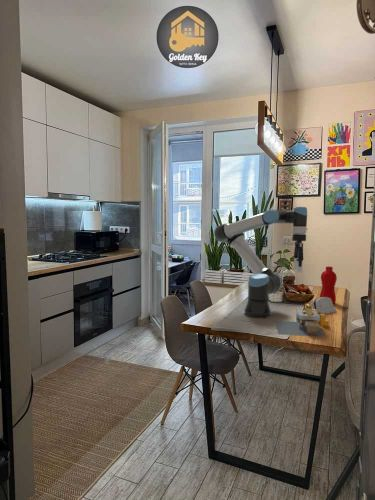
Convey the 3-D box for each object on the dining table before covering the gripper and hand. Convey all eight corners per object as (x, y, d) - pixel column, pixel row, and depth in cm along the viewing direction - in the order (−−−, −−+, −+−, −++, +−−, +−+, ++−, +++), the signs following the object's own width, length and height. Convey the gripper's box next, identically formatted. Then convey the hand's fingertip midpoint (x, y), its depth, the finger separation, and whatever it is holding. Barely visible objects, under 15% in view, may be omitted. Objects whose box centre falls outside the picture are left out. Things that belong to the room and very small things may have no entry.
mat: (278, 334, 168) (278, 334, 168) (274, 321, 190) (274, 320, 190) (326, 338, 164) (326, 337, 164) (316, 324, 187) (316, 323, 187)
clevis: (301, 334, 167) (302, 320, 166) (295, 322, 187) (296, 309, 186) (323, 336, 165) (324, 322, 165) (315, 323, 185) (315, 311, 185)
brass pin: (305, 328, 178) (306, 305, 177) (303, 325, 182) (304, 303, 180) (312, 328, 177) (313, 305, 176) (311, 326, 181) (312, 303, 180)
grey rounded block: (321, 315, 205) (316, 298, 207) (314, 315, 209) (310, 299, 211) (336, 311, 215) (332, 295, 216) (330, 312, 218) (326, 296, 220)
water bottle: (329, 300, 243) (331, 265, 241) (337, 304, 232) (339, 267, 230) (316, 300, 243) (318, 265, 240) (323, 304, 232) (325, 267, 229)
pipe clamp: (328, 327, 182) (329, 315, 182) (320, 327, 182) (321, 315, 181) (318, 320, 194) (318, 309, 194) (310, 320, 194) (311, 309, 193)
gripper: (310, 235, 185) (308, 274, 187) (302, 233, 210) (301, 267, 212) (295, 234, 186) (293, 273, 188) (289, 233, 211) (288, 267, 213)
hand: (297, 270), depth 200 cm, fingers open, 13 cm apart
